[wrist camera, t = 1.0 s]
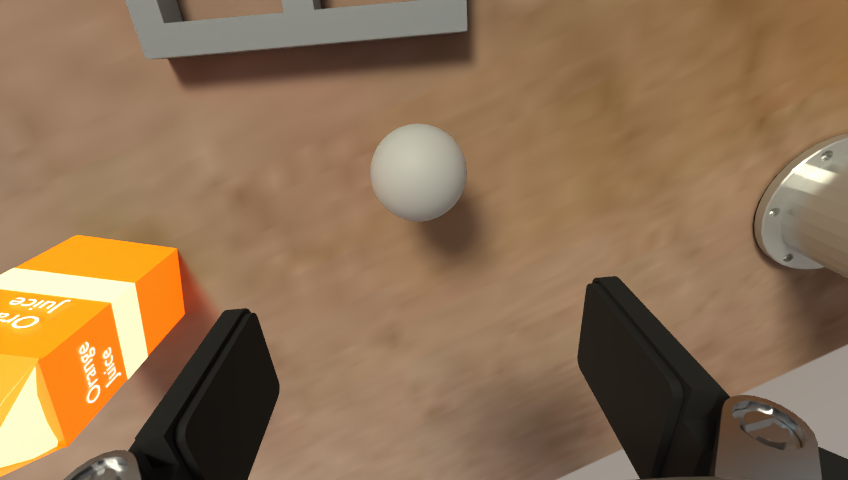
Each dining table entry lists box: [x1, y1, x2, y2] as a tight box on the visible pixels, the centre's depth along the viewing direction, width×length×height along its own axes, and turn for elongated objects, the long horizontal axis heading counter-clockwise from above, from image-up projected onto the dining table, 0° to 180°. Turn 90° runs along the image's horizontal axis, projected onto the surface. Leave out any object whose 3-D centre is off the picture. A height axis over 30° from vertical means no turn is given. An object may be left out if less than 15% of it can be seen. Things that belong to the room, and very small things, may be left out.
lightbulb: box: [370, 124, 467, 221], centre depth 27 cm, size 6×6×11 cm
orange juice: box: [0, 235, 185, 477], centre depth 28 cm, size 8×9×20 cm
